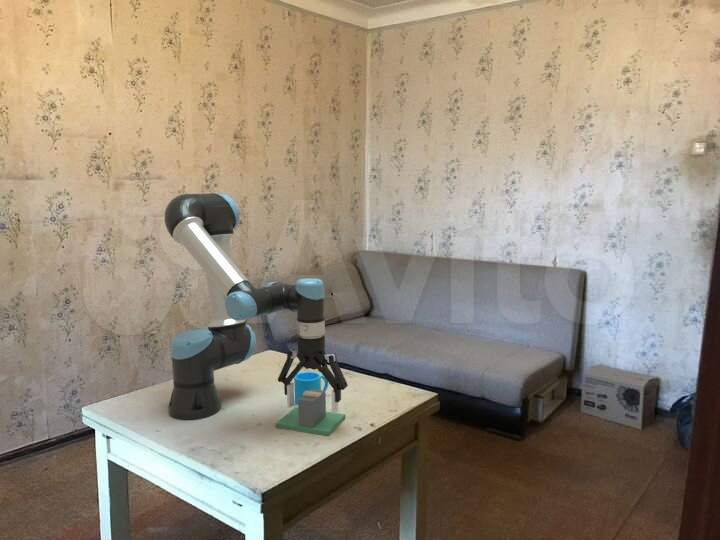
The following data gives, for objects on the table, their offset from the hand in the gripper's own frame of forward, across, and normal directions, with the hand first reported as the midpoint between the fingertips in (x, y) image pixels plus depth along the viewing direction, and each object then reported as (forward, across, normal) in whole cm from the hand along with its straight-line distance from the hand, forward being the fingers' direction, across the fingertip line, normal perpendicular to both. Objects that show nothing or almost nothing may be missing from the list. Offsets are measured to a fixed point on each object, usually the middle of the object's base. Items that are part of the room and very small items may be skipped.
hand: (312, 409), depth 152 cm
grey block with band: (+3, 0, 0) cm, 3 cm away
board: (+4, -1, +1) cm, 5 cm away
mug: (+5, -8, +17) cm, 19 cm away
